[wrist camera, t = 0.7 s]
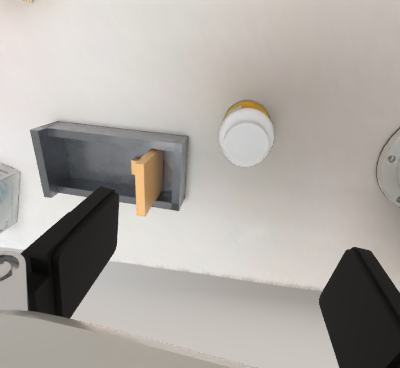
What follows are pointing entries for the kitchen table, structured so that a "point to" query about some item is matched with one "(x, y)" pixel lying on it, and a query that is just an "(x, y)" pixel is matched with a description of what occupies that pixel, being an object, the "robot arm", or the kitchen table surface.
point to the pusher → (147, 179)
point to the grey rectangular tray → (106, 161)
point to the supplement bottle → (246, 133)
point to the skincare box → (8, 196)
